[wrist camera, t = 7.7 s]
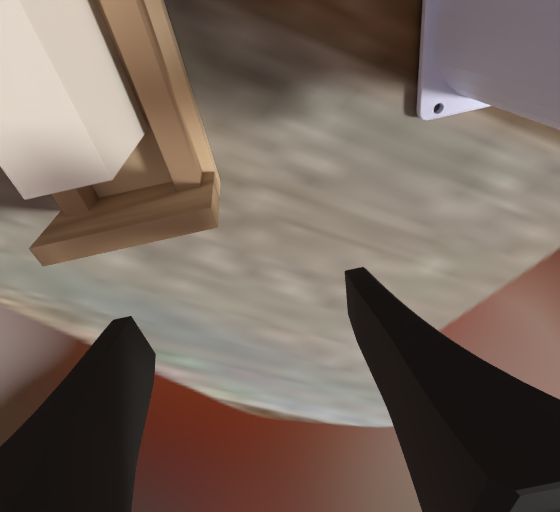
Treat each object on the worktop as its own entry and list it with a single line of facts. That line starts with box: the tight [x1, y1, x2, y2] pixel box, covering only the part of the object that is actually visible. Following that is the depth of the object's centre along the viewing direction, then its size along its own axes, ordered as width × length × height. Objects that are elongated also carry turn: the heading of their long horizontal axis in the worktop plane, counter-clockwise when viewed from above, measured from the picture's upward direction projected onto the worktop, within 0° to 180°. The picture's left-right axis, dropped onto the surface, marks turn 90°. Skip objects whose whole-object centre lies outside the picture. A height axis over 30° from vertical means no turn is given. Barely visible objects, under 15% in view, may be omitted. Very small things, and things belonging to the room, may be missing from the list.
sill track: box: [29, 0, 221, 266], centre depth 13 cm, size 12×8×5 cm, turn 10°
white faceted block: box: [0, 0, 148, 200], centre depth 11 cm, size 3×7×6 cm, turn 10°
